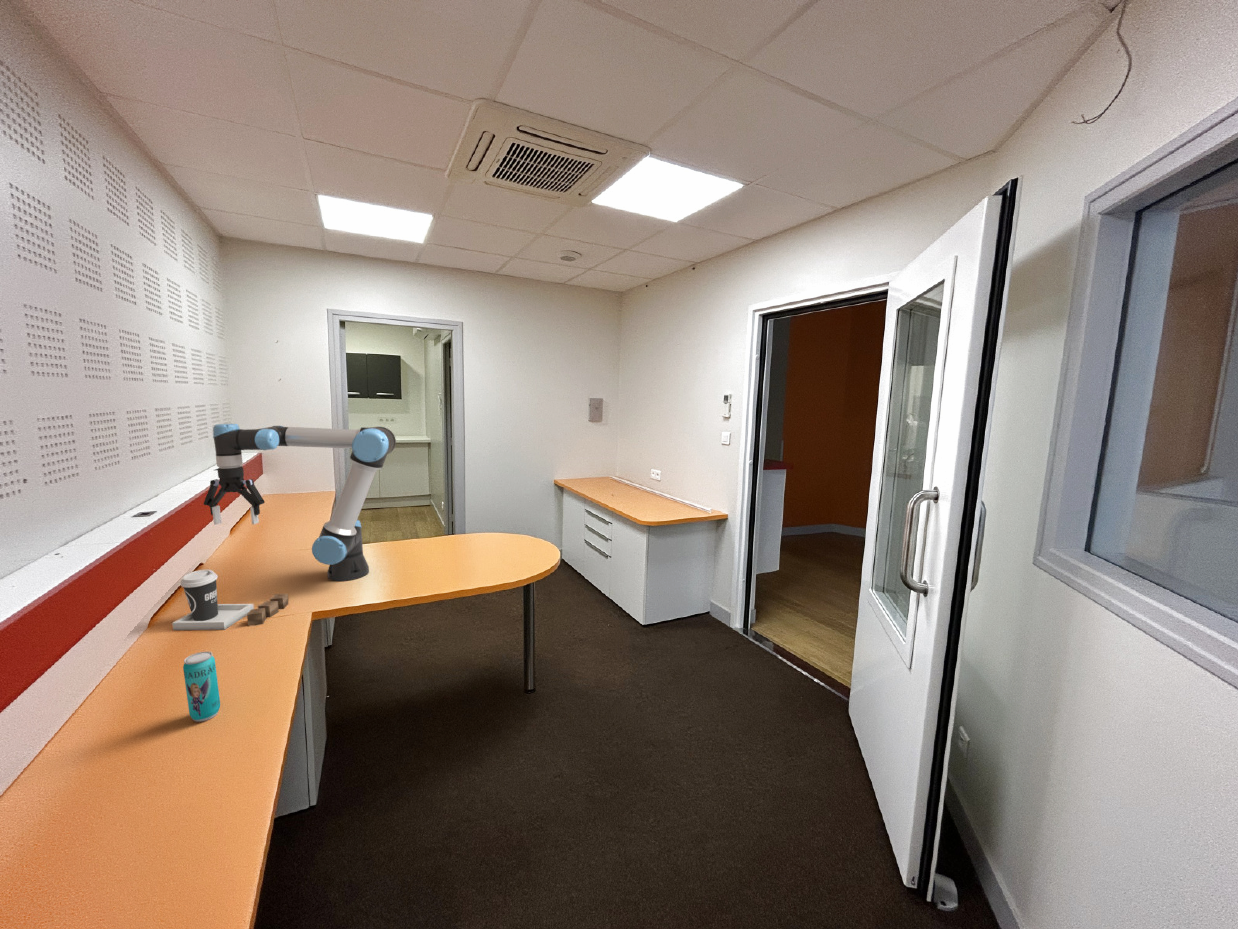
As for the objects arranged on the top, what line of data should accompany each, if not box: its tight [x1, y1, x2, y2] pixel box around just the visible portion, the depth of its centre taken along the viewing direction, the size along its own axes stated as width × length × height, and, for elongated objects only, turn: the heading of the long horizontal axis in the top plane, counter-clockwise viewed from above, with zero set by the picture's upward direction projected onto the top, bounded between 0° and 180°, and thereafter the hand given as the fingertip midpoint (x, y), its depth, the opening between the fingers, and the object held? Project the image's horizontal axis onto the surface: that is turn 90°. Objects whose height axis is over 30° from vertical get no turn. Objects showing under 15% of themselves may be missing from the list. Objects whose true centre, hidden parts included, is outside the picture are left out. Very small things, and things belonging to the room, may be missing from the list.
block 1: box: [246, 608, 267, 627], centre depth 170 cm, size 4×4×4 cm
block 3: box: [269, 593, 290, 610], centre depth 181 cm, size 4×4×4 cm
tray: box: [171, 603, 255, 631], centre depth 171 cm, size 16×14×2 cm
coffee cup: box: [180, 569, 219, 621], centre depth 170 cm, size 10×10×15 cm
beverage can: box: [182, 651, 221, 723], centre depth 121 cm, size 6×6×15 cm
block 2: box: [257, 600, 280, 618], centre depth 176 cm, size 4×4×4 cm
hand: (236, 523), depth 190 cm, fingers open, 13 cm apart
